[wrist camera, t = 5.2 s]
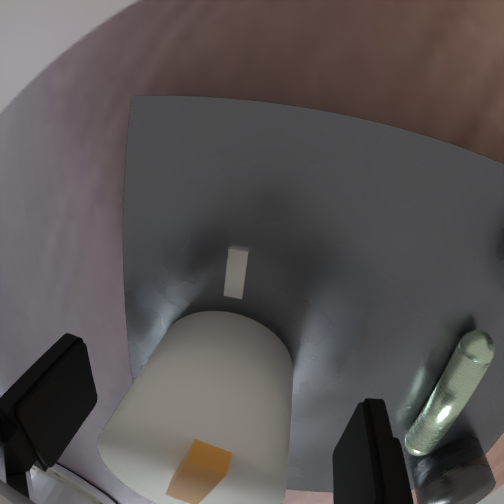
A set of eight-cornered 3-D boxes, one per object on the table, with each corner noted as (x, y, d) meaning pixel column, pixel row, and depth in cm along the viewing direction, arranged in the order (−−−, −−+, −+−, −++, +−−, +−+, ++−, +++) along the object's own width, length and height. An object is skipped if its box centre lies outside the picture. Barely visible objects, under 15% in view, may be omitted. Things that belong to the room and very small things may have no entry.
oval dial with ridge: (258, 429, 12) (237, 544, 7) (148, 382, 12) (88, 487, 7) (319, 346, 10) (325, 495, 5) (180, 286, 10) (89, 406, 5)
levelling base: (452, 461, 15) (467, 516, 10) (157, 435, 17) (128, 497, 12) (579, 207, 9) (644, 236, 4) (157, 101, 10) (73, 84, 6)
